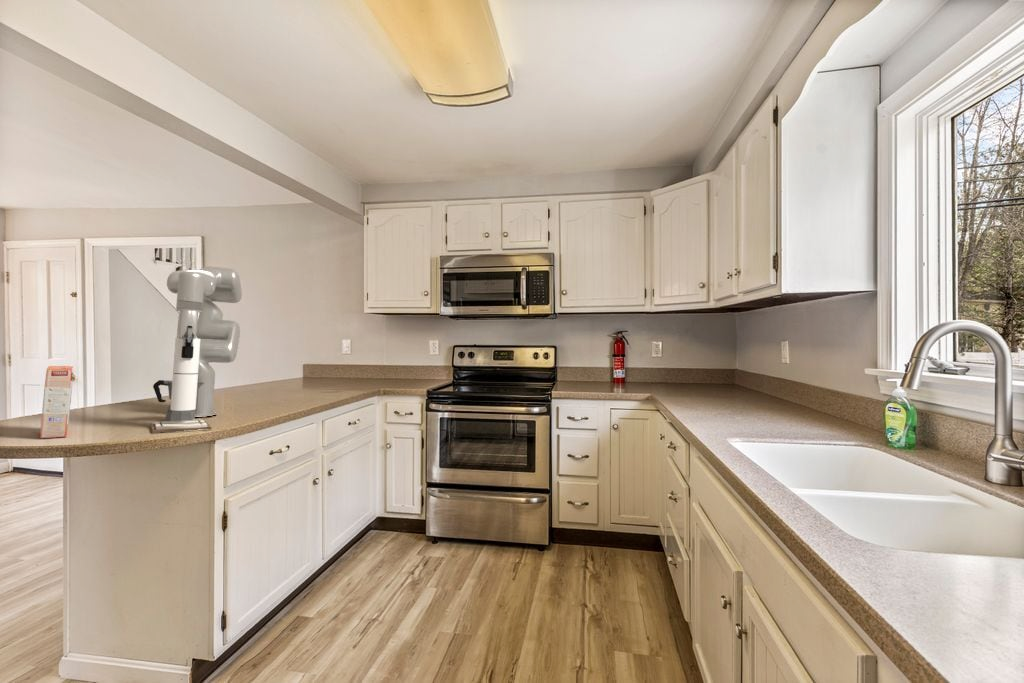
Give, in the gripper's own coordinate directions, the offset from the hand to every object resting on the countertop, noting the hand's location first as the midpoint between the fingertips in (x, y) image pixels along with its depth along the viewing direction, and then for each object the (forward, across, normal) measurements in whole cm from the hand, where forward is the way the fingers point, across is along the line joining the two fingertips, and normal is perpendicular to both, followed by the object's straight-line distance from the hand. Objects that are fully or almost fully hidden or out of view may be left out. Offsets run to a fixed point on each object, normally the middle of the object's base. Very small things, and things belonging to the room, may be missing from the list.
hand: (185, 357), depth 157 cm
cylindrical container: (+18, 0, 0) cm, 18 cm away
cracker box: (+25, -2, -31) cm, 40 cm away
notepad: (+25, 0, 0) cm, 25 cm away
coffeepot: (+25, -16, 0) cm, 30 cm away
